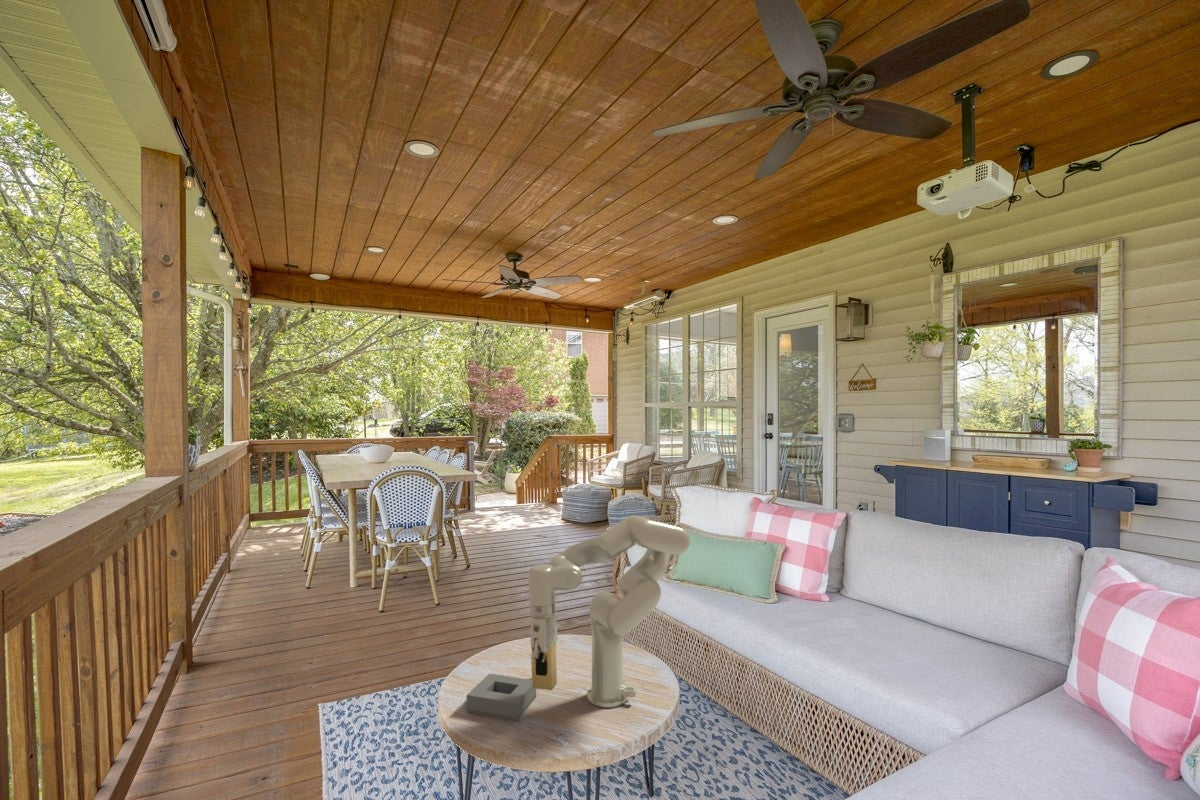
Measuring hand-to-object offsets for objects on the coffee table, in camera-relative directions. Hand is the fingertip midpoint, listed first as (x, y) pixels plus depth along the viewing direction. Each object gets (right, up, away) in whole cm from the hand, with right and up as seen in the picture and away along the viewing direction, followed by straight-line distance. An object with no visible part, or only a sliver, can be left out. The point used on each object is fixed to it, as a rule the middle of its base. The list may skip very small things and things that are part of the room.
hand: (544, 670), depth 161 cm
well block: (-13, -12, +4) cm, 18 cm away
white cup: (-2, -13, +18) cm, 23 cm away
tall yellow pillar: (0, -4, 0) cm, 4 cm away
